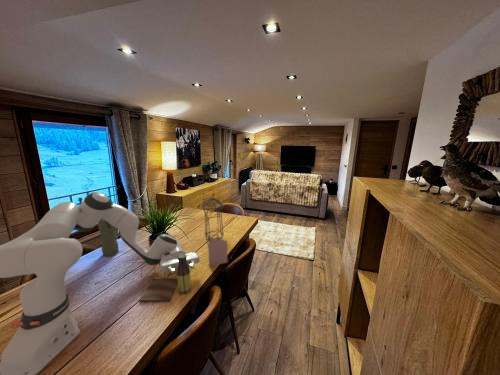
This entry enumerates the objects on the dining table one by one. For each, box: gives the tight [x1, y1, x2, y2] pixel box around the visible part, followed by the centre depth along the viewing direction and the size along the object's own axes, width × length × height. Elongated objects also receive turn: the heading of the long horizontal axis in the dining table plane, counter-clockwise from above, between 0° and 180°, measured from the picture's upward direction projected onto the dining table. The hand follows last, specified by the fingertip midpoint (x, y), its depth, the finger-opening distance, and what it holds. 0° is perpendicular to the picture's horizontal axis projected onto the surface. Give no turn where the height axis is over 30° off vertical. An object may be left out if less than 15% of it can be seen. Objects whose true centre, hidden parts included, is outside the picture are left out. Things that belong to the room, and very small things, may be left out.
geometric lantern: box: [200, 197, 225, 243], centre depth 148 cm, size 16×16×35 cm
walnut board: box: [139, 278, 178, 303], centre depth 99 cm, size 15×14×1 cm
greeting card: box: [208, 237, 228, 266], centre depth 121 cm, size 11×7×15 cm, turn 74°
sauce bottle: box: [176, 253, 192, 296], centre depth 97 cm, size 6×6×20 cm
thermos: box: [97, 218, 120, 258], centre depth 127 cm, size 9×12×35 cm
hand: (183, 269), depth 101 cm, fingers open, 8 cm apart
